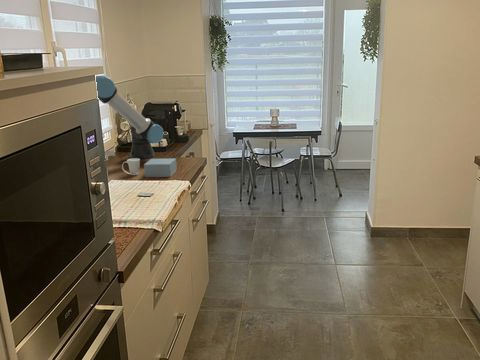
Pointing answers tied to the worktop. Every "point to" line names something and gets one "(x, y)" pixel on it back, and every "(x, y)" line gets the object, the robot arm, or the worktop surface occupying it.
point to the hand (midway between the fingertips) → (111, 155)
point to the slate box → (160, 167)
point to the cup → (133, 166)
